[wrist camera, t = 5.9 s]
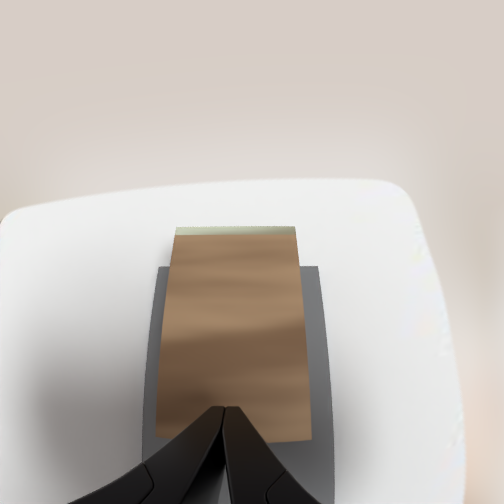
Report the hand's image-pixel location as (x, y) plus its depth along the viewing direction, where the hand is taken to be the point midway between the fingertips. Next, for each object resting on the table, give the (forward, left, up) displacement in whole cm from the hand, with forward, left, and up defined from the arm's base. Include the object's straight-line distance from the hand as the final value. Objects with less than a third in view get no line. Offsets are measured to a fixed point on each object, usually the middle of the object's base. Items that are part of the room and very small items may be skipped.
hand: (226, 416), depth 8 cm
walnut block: (-1, 0, -5) cm, 5 cm away
